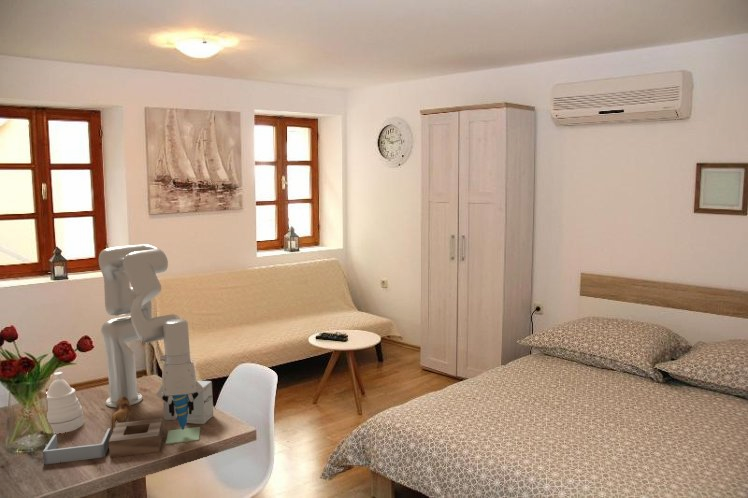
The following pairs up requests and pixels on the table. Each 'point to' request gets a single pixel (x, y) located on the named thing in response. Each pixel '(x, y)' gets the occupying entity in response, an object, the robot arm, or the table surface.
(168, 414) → the white printed carton
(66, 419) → the honey pot
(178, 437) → the mat
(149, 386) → the table surface
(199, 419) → the supplement box
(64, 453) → the grey arch frame
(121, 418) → the lion figurine
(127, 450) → the hole deck
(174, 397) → the ornament
